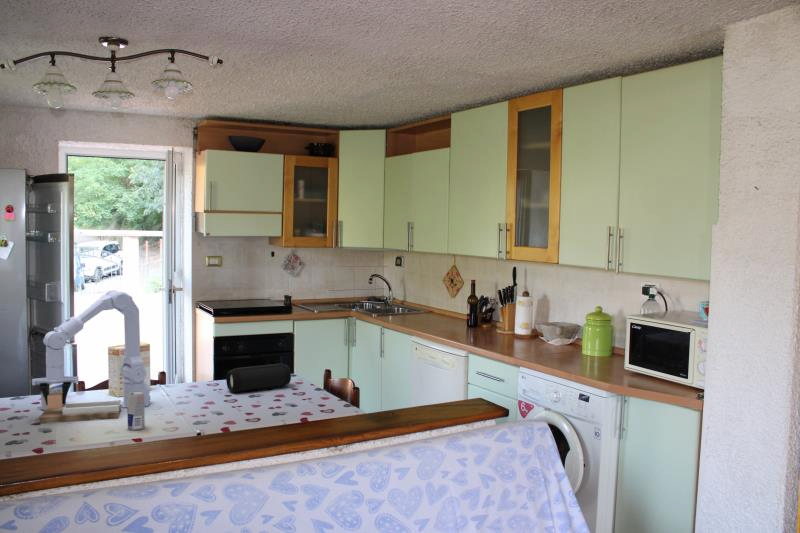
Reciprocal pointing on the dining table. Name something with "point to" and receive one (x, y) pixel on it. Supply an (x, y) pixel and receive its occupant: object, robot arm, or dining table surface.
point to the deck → (74, 416)
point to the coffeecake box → (116, 363)
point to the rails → (91, 407)
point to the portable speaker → (258, 377)
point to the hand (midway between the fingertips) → (55, 404)
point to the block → (55, 400)
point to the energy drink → (135, 410)
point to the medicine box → (52, 389)
